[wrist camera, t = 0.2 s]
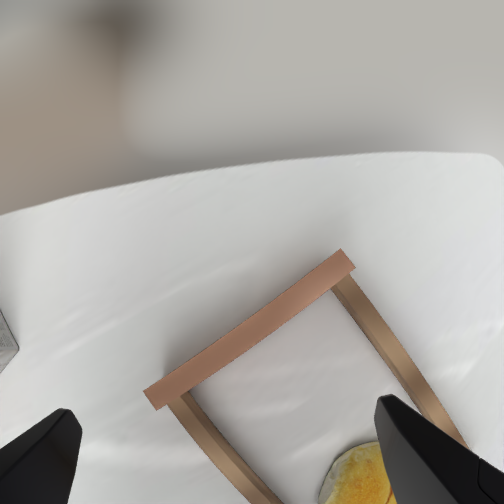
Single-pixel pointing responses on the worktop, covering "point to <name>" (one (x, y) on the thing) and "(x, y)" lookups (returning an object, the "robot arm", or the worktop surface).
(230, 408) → the worktop surface
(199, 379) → the guide channel
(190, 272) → the worktop surface
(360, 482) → the bread roll
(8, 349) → the coffee box
